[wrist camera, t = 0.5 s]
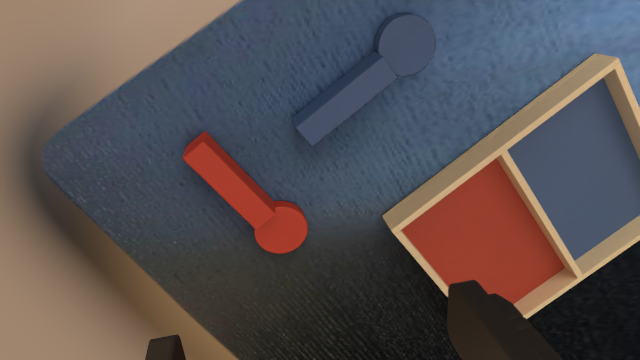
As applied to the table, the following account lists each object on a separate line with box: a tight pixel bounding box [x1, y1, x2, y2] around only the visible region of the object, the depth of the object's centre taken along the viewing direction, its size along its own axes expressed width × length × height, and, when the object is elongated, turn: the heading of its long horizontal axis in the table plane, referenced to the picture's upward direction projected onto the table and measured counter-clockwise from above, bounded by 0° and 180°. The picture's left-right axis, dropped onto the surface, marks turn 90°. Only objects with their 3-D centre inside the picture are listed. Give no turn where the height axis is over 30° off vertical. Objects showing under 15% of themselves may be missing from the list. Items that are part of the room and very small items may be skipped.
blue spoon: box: [292, 13, 436, 147], centre depth 34 cm, size 12×4×2 cm, turn 128°
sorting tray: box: [382, 53, 640, 319], centre depth 41 cm, size 18×22×3 cm
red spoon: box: [183, 131, 308, 253], centre depth 36 cm, size 12×4×2 cm, turn 38°
